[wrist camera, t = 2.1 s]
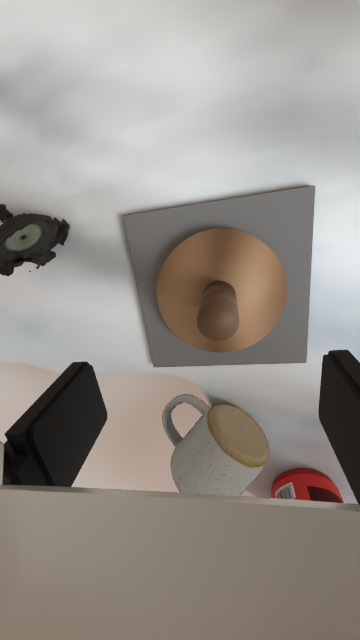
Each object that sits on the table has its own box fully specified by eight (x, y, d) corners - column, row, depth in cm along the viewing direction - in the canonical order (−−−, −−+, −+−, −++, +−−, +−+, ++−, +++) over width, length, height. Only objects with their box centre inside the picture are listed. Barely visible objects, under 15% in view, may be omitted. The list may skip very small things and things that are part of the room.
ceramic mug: (269, 418, 28) (282, 485, 21) (231, 461, 32) (231, 531, 25) (184, 373, 28) (168, 426, 21) (154, 421, 31) (133, 481, 24)
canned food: (269, 507, 34) (287, 632, 24) (270, 464, 31) (291, 586, 21) (333, 513, 32) (381, 649, 22) (341, 468, 29) (400, 601, 19)
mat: (312, 186, 19) (315, 185, 19) (304, 359, 25) (306, 362, 24) (125, 215, 22) (122, 215, 22) (155, 364, 28) (153, 367, 27)
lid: (284, 218, 20) (310, 221, 14) (284, 344, 24) (303, 388, 18) (149, 237, 22) (121, 247, 16) (169, 350, 26) (153, 391, 20)
